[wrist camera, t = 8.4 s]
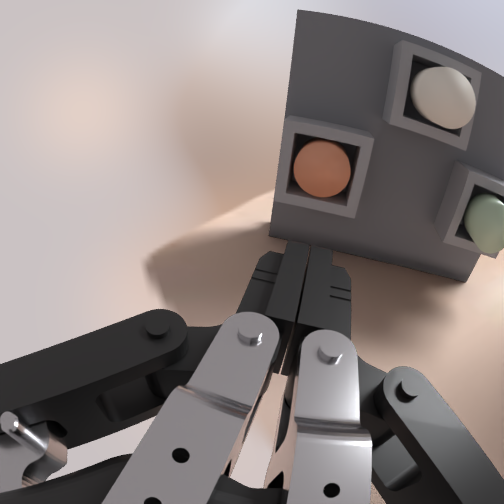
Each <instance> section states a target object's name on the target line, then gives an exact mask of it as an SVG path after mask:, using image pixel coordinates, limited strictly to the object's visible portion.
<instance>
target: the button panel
mask: <svg viewBox="0 0 504 504" xmlns="http://www.w3.org/2000/svg"><path fill="white" fill-rule="evenodd" d="M433 67H450V68H453V69H455V70H457V71H459V72H460V73H461V74H462V75H464V76H465V77H466V79H467V80H468V81H469V83H470V84H471V86H472V88H473V91H474V94H475V100H476V106H475V111H474V114H473V117H472V118H471V120H470V121H469V122H468V123H467V124H466V125H464V126H463V127H461V128H457V129H449V128H445V127H442V126H440V125H438V124H436V123H434V122H431V121H429V120H427V119H425V118H424V117H423V116H422V115H421V114H420V113H419V112H418V111H417V110H416V108H415V106H414V105H413V102H412V99H411V94H410V87H411V83H412V80H413V78H414V76H415V75H416V74H417V73H418V72H419V71H421V70H423V69H426V68H433ZM316 137H320V138H325V139H329V140H334V141H337V142H339V143H340V144H341V145H342V146H343V147H344V149H345V150H346V152H347V155H348V159H349V163H350V170H351V173H350V179H349V181H348V184H347V185H346V187H345V188H344V189H343V190H342V191H341V192H339V193H338V194H336V195H334V196H330V197H316V196H313V195H311V194H309V193H307V192H306V191H304V190H303V189H302V188H301V187H300V186H299V184H298V183H297V181H296V179H295V176H294V163H295V160H296V157H297V155H298V153H299V151H300V149H301V147H302V146H303V145H304V144H305V143H306V142H307V141H309V140H310V139H313V138H316ZM481 193H491V194H493V195H494V196H496V197H497V198H498V199H499V200H500V201H501V202H502V203H503V204H504V77H502V76H501V75H499V74H498V73H496V72H494V71H492V70H491V69H489V68H487V67H485V66H483V65H481V64H479V63H477V62H475V61H473V60H471V59H469V58H467V57H465V56H463V55H461V54H459V53H456V52H454V51H452V50H449V49H447V48H445V47H443V46H440V45H438V44H435V43H433V42H430V41H428V40H425V39H422V38H420V37H417V36H414V35H411V34H408V33H405V32H402V31H399V30H395V29H392V28H389V27H385V26H382V25H378V24H374V23H370V22H366V21H361V20H358V19H353V18H348V17H343V16H338V15H332V14H326V13H320V12H312V11H305V10H297V19H296V28H295V37H294V45H293V54H292V62H291V71H290V80H289V87H288V95H287V103H286V111H285V119H284V126H283V134H282V141H281V149H280V156H279V164H278V171H277V179H276V186H275V193H274V201H273V208H272V215H271V223H270V230H269V236H272V237H277V238H281V239H286V240H291V241H295V242H300V243H304V244H309V245H313V246H318V247H322V248H326V249H331V250H335V251H339V252H344V253H348V254H352V255H356V256H361V257H365V258H369V259H374V260H378V261H382V262H386V263H390V264H395V265H399V266H403V267H407V268H411V269H415V270H419V271H423V272H427V273H431V274H435V275H439V276H443V277H447V278H451V279H455V280H459V281H463V282H466V281H467V280H468V278H469V276H470V274H471V272H472V270H473V268H474V267H475V265H476V263H477V261H478V259H479V257H480V255H481V254H483V255H486V256H489V257H492V258H495V259H496V257H497V255H498V253H499V252H496V253H492V254H488V253H484V252H482V251H481V250H480V249H479V248H478V247H477V245H476V244H475V242H474V241H473V239H472V238H471V236H470V235H469V233H468V232H467V230H466V228H465V226H464V212H465V209H466V207H467V205H468V203H469V202H470V201H471V199H472V198H474V197H475V196H476V195H478V194H481Z"/></svg>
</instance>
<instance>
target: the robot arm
mask: <svg viewBox="0 0 504 504" xmlns="http://www.w3.org/2000/svg"><path fill="white" fill-rule="evenodd" d="M309 246H310V245H309V244H304V243H300V242H295V241H291V240H288V243H287V246H286V249H285V253H284V254H281V253H276V252H272V251H269V252H268V253H266V254H265V255H264V256H262V257H261V258H260V259H259V261H258V264H257V266H256V268H255V271H254V273H253V275H252V278H251V280H250V282H249V285H248V287H247V289H246V291H245V294H244V296H243V298H242V301H241V303H240V305H239V308H238V310H237V312H236V314H234V315H232V316H230V317H229V318H227V319H226V320H225V322H224V323H223V324H221V325H218V326H213V327H187V325H186V323H185V321H184V319H183V318H182V317H181V316H180V315H178V314H177V313H175V312H173V311H170V310H165V309H156V310H150V311H147V312H145V313H142V314H139V315H136V316H134V317H131V318H129V319H126V320H123V321H121V322H118V323H115V324H112V325H110V326H107V327H104V328H101V329H99V330H96V331H93V332H90V333H88V334H85V335H82V336H79V337H77V338H74V339H71V340H68V341H66V342H63V343H60V344H57V345H54V346H51V347H49V348H46V349H43V350H40V351H37V352H34V353H31V354H29V355H26V356H23V357H20V358H17V359H14V360H11V361H8V362H5V363H3V364H0V504H370V495H371V482H372V483H373V485H374V486H375V488H376V489H377V491H378V492H379V493H380V495H381V496H382V498H383V499H384V501H385V502H386V504H504V479H503V478H502V477H501V475H500V474H499V472H498V471H497V469H496V468H495V467H494V465H493V464H492V462H491V461H490V460H489V458H488V457H487V455H486V454H485V453H484V451H483V450H482V449H481V447H480V446H479V445H478V443H477V442H476V441H475V439H474V438H473V437H472V435H471V434H470V433H469V431H468V430H467V429H466V427H465V426H464V425H463V424H462V422H461V421H460V420H459V418H458V417H457V416H456V415H455V413H454V412H453V411H452V409H451V408H450V407H449V406H448V404H447V403H446V402H445V401H444V399H443V398H442V397H441V396H440V394H439V393H438V392H437V391H436V390H435V388H434V387H433V386H432V385H431V383H430V382H429V381H428V380H427V379H426V377H425V376H424V375H423V374H422V373H420V372H419V371H417V370H416V369H414V368H411V367H406V366H401V367H396V368H394V369H392V370H391V371H389V372H388V373H386V372H384V371H382V370H379V369H377V368H375V367H373V366H371V365H369V364H368V363H366V362H365V361H363V360H362V359H361V358H360V357H359V356H358V355H357V351H356V348H355V346H354V344H353V343H352V342H351V279H350V277H349V275H348V273H347V271H346V270H345V268H342V267H338V266H333V265H332V255H333V250H331V249H326V248H322V247H318V246H313V245H311V248H310V252H309V256H308V251H309ZM307 257H308V260H307ZM306 262H307V264H306ZM287 345H288V346H287ZM286 349H287V351H286ZM285 352H286V355H285ZM284 355H285V359H284V363H283V367H282V371H281V374H282V375H286V376H288V379H287V383H286V387H285V390H284V393H283V395H282V399H281V404H280V411H279V417H278V423H277V429H276V435H275V441H274V446H273V452H272V456H271V460H270V463H269V466H268V469H267V473H266V477H265V482H264V487H263V488H260V489H256V488H249V487H247V486H244V485H242V484H241V483H238V482H237V481H235V480H233V479H231V478H230V476H231V473H232V471H233V469H234V467H235V464H236V462H237V459H238V457H239V454H240V452H241V449H242V446H243V444H244V442H245V439H246V437H247V435H248V432H249V430H250V427H251V425H252V423H253V420H254V418H255V415H256V413H257V410H258V408H259V405H260V403H261V400H262V398H263V395H264V393H265V392H266V390H267V389H268V386H269V383H270V380H271V376H272V373H277V374H279V371H280V368H281V365H282V362H283V358H284ZM156 415H157V416H156ZM154 416H156V417H155V419H154V421H153V422H152V424H151V426H150V427H149V429H148V430H147V432H146V434H145V435H144V437H143V438H142V440H141V442H140V443H139V445H138V446H137V448H136V450H135V451H134V453H133V454H126V455H121V456H117V457H113V458H110V459H108V460H105V461H102V462H100V463H97V464H95V465H92V466H89V467H87V468H84V469H81V470H78V471H76V472H73V473H70V474H67V475H64V476H61V477H58V478H55V479H51V480H48V481H46V479H47V478H48V477H49V476H50V475H51V474H52V473H54V472H56V471H58V470H60V469H61V468H62V467H64V466H65V465H66V463H67V449H70V448H74V447H77V446H80V445H82V444H85V443H88V442H91V441H94V440H97V439H99V438H102V437H105V436H107V435H110V434H113V433H115V432H118V431H120V430H123V429H125V428H128V427H130V426H133V425H135V424H138V423H140V422H142V421H145V420H147V419H149V418H151V417H154Z"/></svg>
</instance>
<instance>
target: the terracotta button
mask: <svg viewBox="0 0 504 504" xmlns="http://www.w3.org/2000/svg"><path fill="white" fill-rule="evenodd" d="M350 173H351V170H350V163H349V159H348V155H347V152H346V150H345V149H344V147H343V146H342V145H341V144H340V143H339V142H337V141H334V140H329V139H325V138H320V137H316V138H313V139H310V140H309V141H307V142H306V143H305V144H304V145H303V146H302V147H301V149H300V151H299V153H298V155H297V157H296V160H295V163H294V176H295V179H296V181H297V183H298V184H299V186H300V187H301V188H302V189H303V190H304V191H306V192H307V193H309V194H311V195H313V196H316V197H330V196H334V195H336V194H338V193H339V192H341V191H342V190H343V189H344V188H345V187H346V185H347V184H348V181H349V179H350Z"/></svg>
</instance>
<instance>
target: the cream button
mask: <svg viewBox="0 0 504 504" xmlns="http://www.w3.org/2000/svg"><path fill="white" fill-rule="evenodd" d="M410 94H411V99H412V102H413V105H414V106H415V108H416V110H417V111H418V112H419V113H420V114H421V115H422V116H423V117H424V118H425V119H427V120H429V121H431V122H434V123H436V124H438V125H440V126H442V127H445V128H449V129H457V128H461V127H463V126H464V125H466V124H467V123H468V122H469V121H470V120H471V118H472V117H473V114H474V111H475V106H476V100H475V94H474V91H473V88H472V86H471V84H470V83H469V81H468V80H467V79H466V77H465V76H464V75H462V74H461V73H460V72H459V71H457V70H455V69H453V68H450V67H433V68H426V69H423V70H421V71H419V72H418V73H417V74H416V75H415V76H414V78H413V80H412V83H411V87H410Z"/></svg>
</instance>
